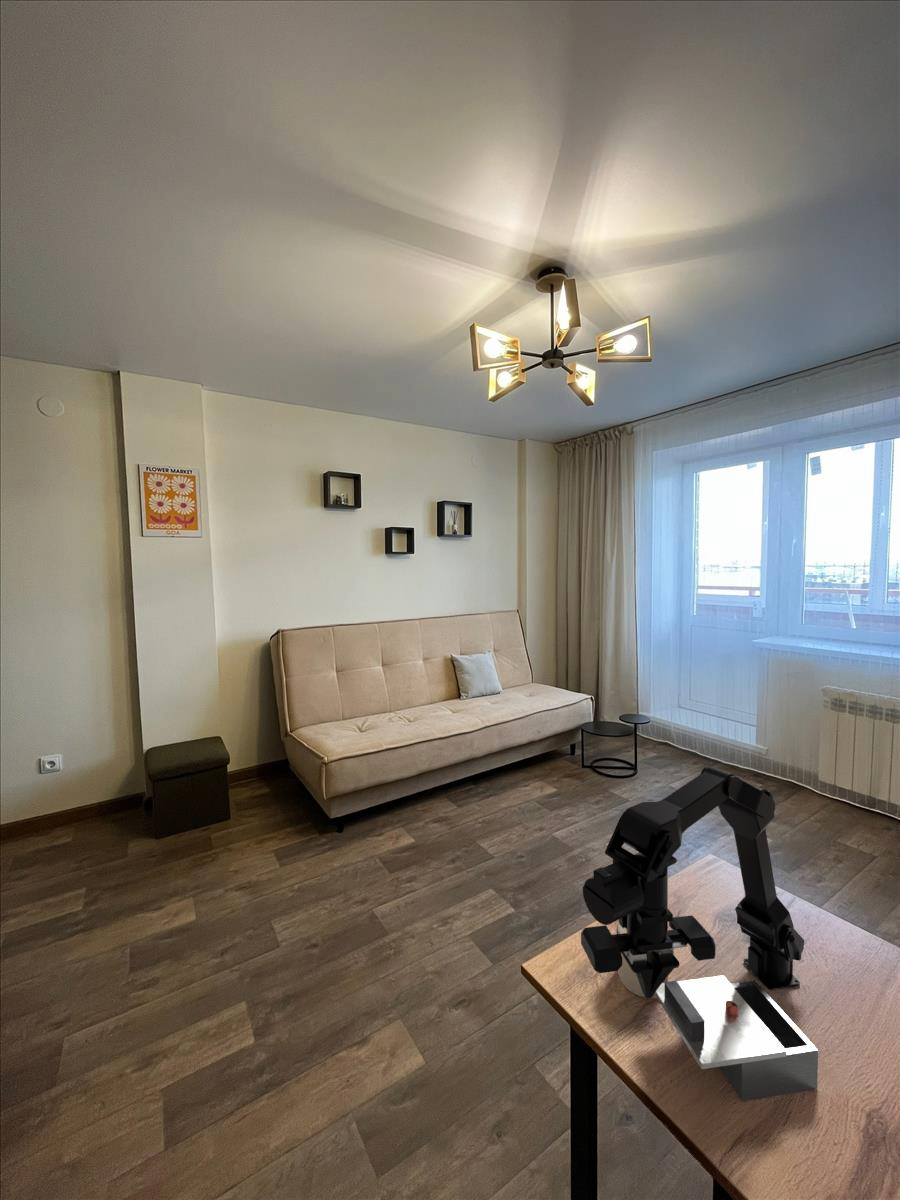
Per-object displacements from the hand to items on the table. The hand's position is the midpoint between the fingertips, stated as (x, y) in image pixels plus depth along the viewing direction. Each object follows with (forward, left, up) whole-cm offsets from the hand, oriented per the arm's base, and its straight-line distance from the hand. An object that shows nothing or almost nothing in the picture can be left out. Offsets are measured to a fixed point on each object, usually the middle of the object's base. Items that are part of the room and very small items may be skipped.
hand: (647, 995), depth 72 cm
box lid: (-11, 0, -5) cm, 12 cm away
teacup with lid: (-9, -16, -12) cm, 22 cm away
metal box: (-17, 0, -12) cm, 21 cm away
